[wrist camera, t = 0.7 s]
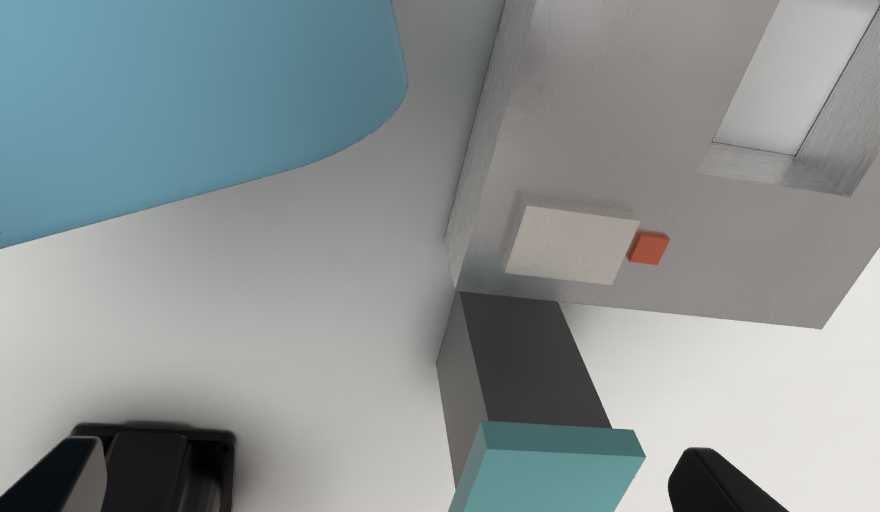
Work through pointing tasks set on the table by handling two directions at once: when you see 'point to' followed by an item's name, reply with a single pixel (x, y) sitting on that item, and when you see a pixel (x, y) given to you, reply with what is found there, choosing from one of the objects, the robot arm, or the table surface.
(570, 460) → the plug
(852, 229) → the faceplate
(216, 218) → the table surface
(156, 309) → the table surface
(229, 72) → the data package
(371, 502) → the table surface
